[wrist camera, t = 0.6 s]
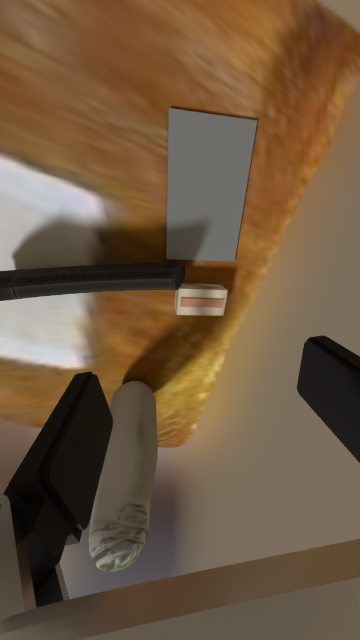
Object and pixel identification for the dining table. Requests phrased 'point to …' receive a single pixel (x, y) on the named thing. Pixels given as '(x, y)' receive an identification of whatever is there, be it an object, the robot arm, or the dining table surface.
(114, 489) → the glass bottle
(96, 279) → the magazine
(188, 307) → the card box
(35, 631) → the robot arm
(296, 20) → the dining table surface
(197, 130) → the mat
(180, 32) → the dining table surface
